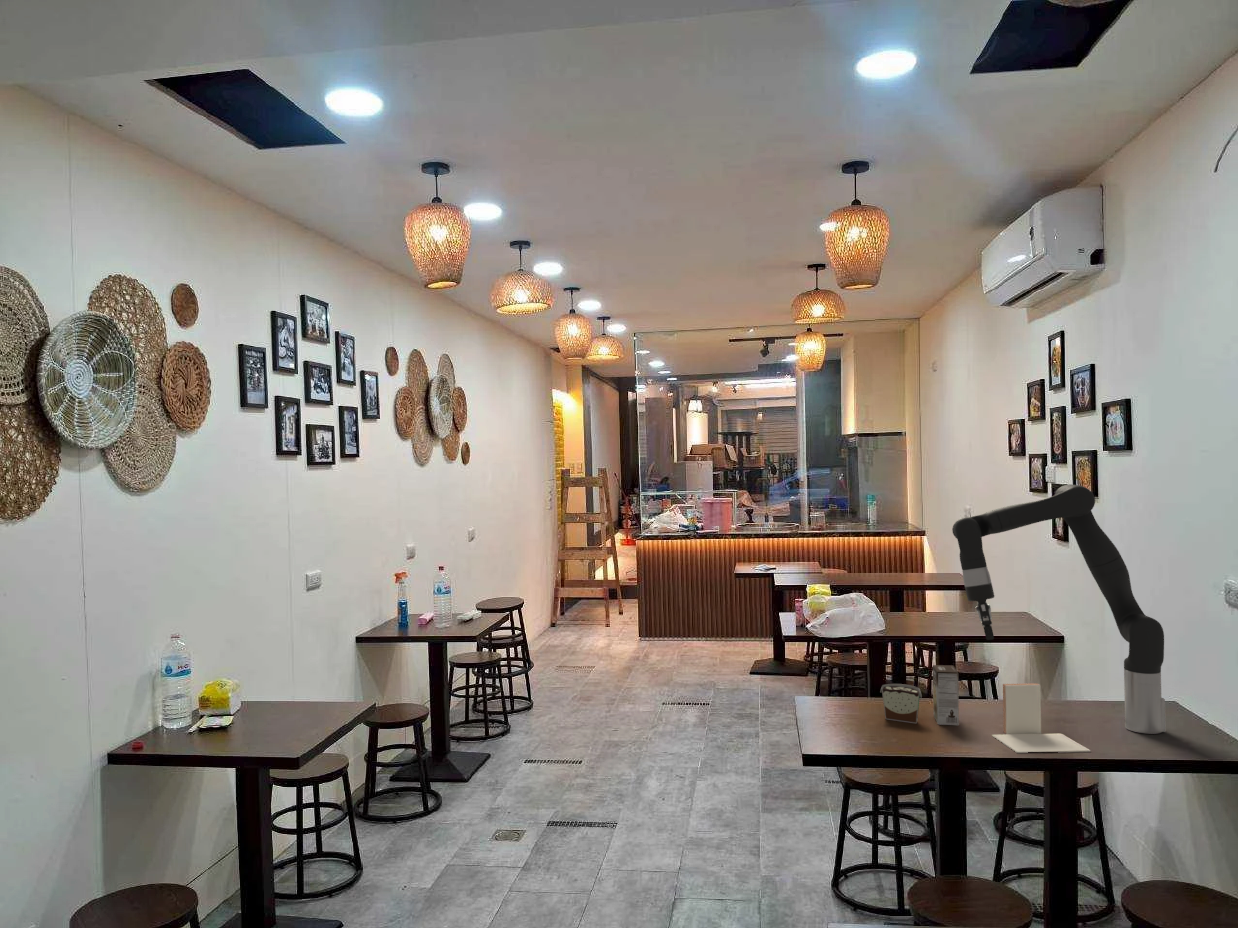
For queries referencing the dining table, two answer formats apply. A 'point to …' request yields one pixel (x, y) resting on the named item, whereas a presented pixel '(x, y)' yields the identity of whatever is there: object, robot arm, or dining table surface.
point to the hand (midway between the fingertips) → (990, 638)
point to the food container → (901, 702)
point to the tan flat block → (1022, 708)
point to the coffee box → (945, 695)
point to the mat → (1040, 743)
